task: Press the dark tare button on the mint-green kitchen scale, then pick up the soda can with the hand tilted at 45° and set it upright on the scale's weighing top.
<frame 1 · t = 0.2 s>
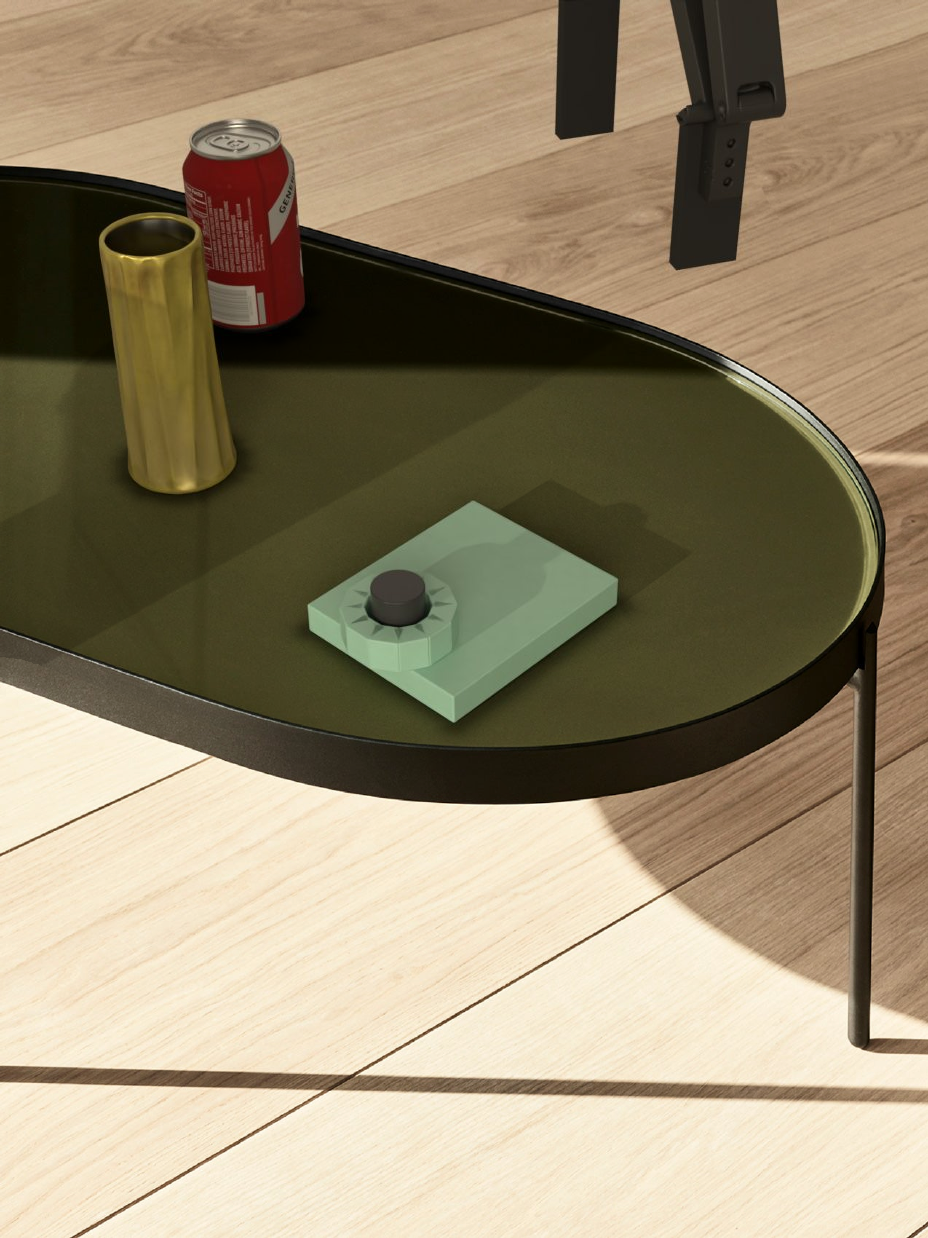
hand: (639, 193, 75), 21 cm above the table, tool pointing down, fingers open, 13 cm apart
scale: (464, 617, 84), on the table
soda can: (253, 316, 108), on the table
vase: (183, 467, 95), on the table
tare button: (398, 598, 79), point 4 cm above the table, slide at 0.1 cm
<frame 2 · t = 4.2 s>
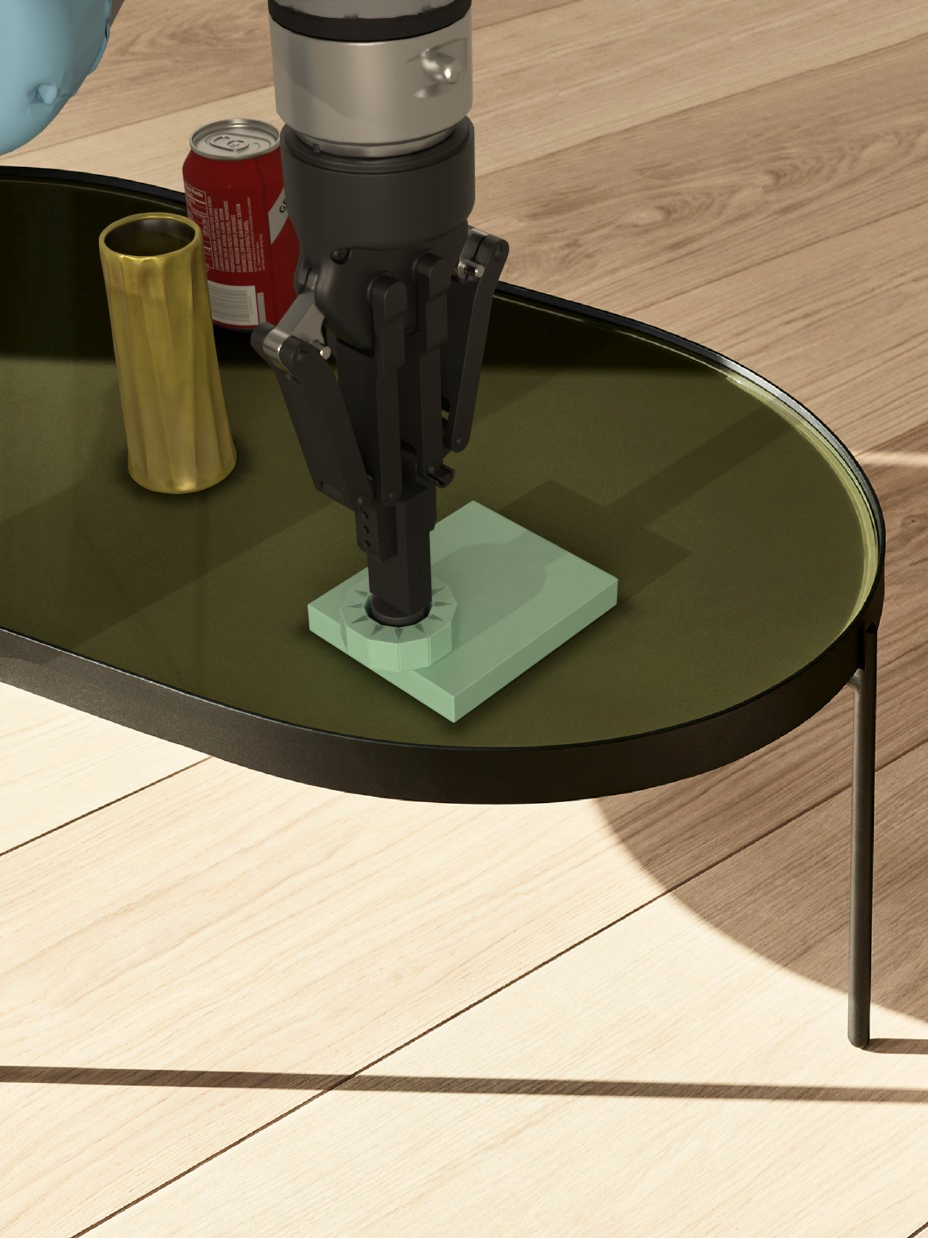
hand: (400, 596, 79), 4 cm above the table, tool pointing down, fingers closed
tare button: (398, 613, 80), point 3 cm above the table, slide at -0.8 cm, touching gripper
everything else where it was.
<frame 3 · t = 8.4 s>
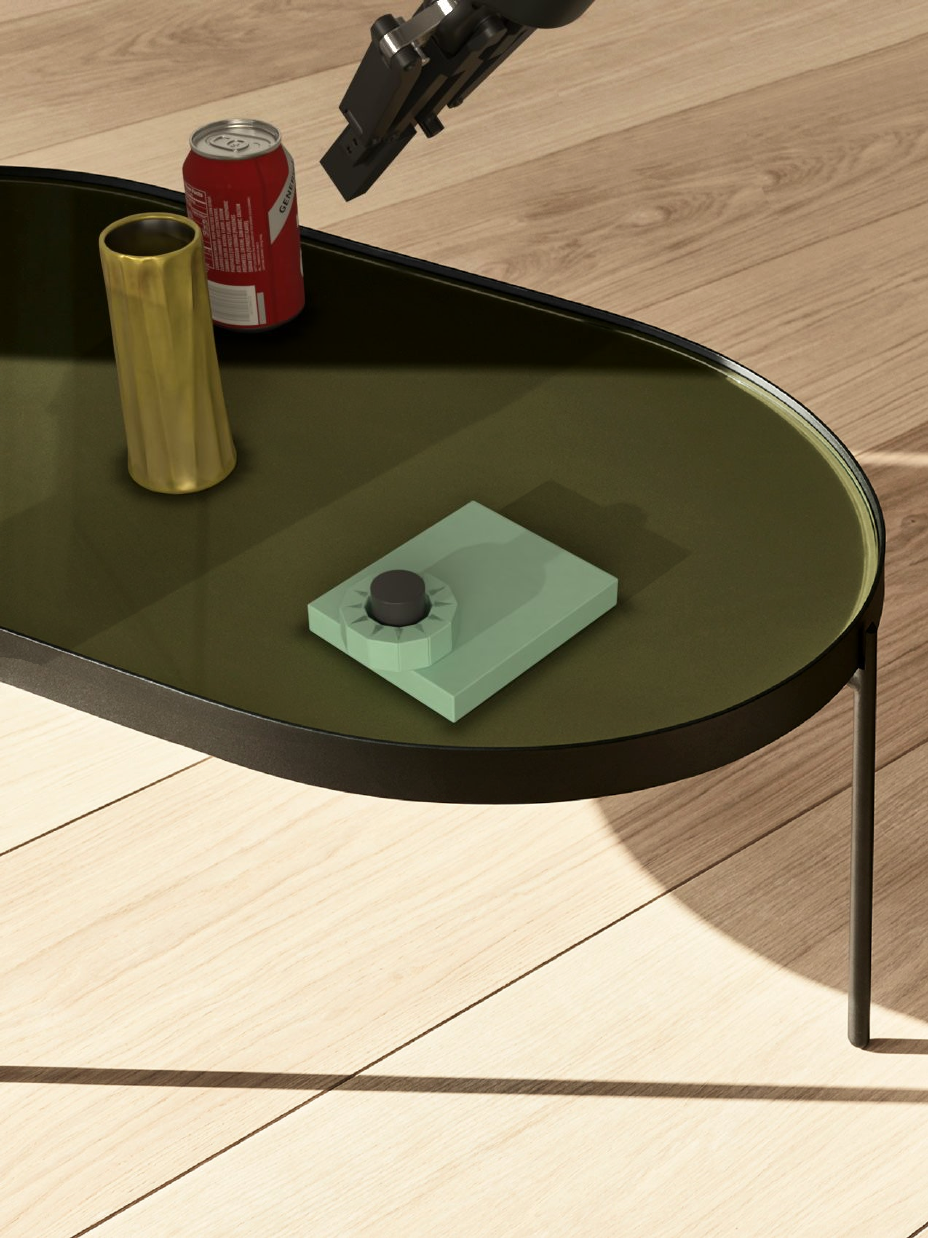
hand: (342, 177, 93), 13 cm above the table, tool tilted 40°, fingers closed
tare button: (398, 598, 79), point 4 cm above the table, slide at 0.1 cm
everything else where it was.
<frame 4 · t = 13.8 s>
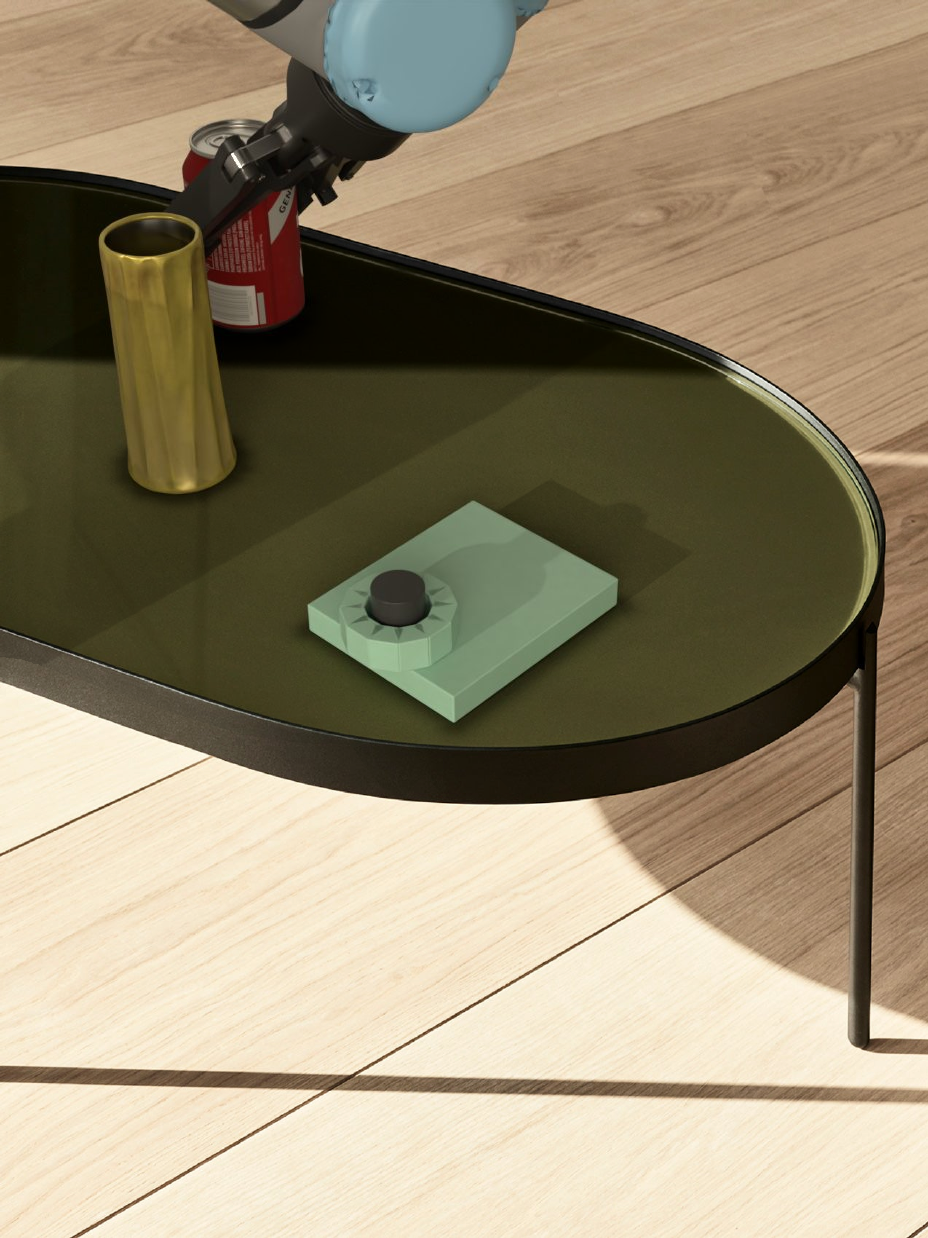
hand: (212, 247, 108), 3 cm above the table, tool tilted 45°, fingers closed on soda can, 7 cm apart
soda can: (253, 316, 108), on the table, touching gripper
everything else where it was.
when the fingers open (5 cm above the table, at t = 23.9 s): soda can stays where it is, resting on scale.
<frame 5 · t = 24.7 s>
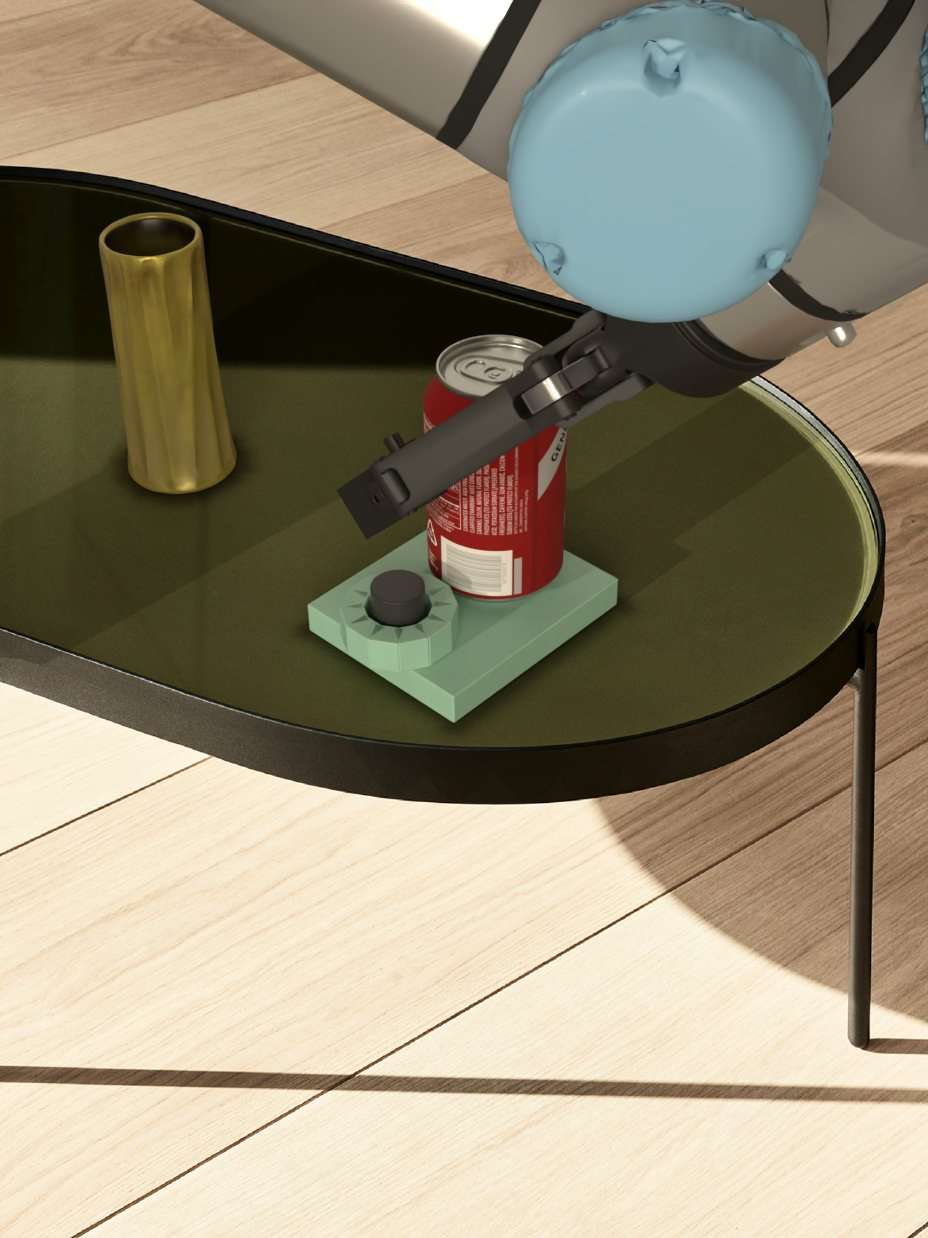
hand: (457, 451, 82), 8 cm above the table, tool tilted 45°, fingers open, 13 cm apart
soda can: (495, 574, 85), point 2 cm above the table, touching scale
everything else where it was.
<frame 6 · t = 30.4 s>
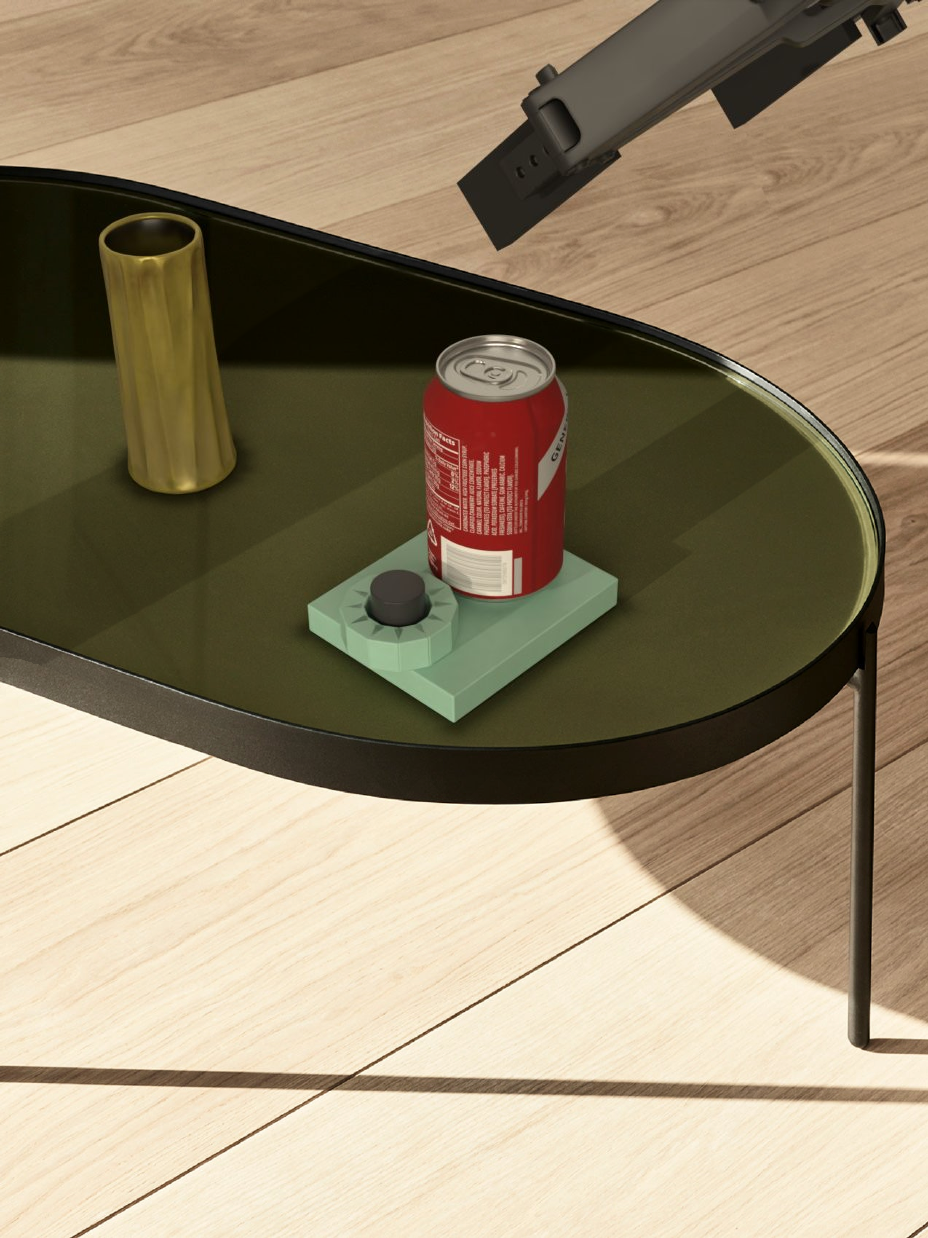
hand: (609, 151, 62), 28 cm above the table, tool tilted 45°, fingers open, 13 cm apart
nothing on the table moved.
at the end: tare button pushed in 1.0 cm at the most during the clip, back to where it started at the end; soda can inside the target area on the scale (0.2 cm from its centre), point 1.5 cm above the scale's base; soda can touching scale; soda can tilted 0° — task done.
